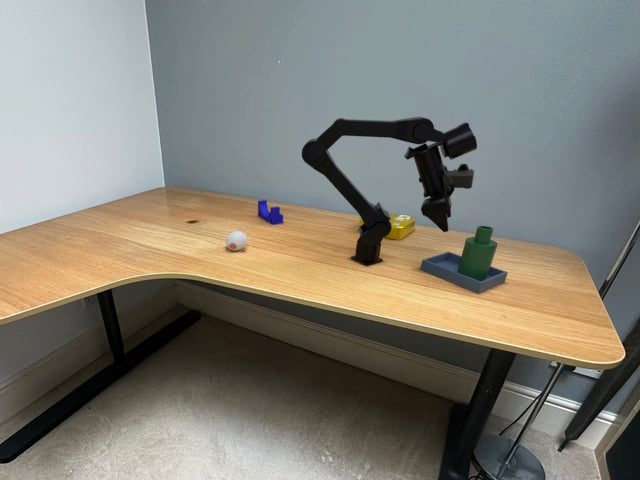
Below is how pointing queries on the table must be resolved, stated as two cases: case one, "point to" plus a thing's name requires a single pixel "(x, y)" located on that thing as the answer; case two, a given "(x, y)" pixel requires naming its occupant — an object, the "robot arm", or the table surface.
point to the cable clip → (271, 217)
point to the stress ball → (236, 240)
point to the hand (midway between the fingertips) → (447, 224)
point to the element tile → (398, 226)
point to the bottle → (478, 254)
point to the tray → (447, 270)
